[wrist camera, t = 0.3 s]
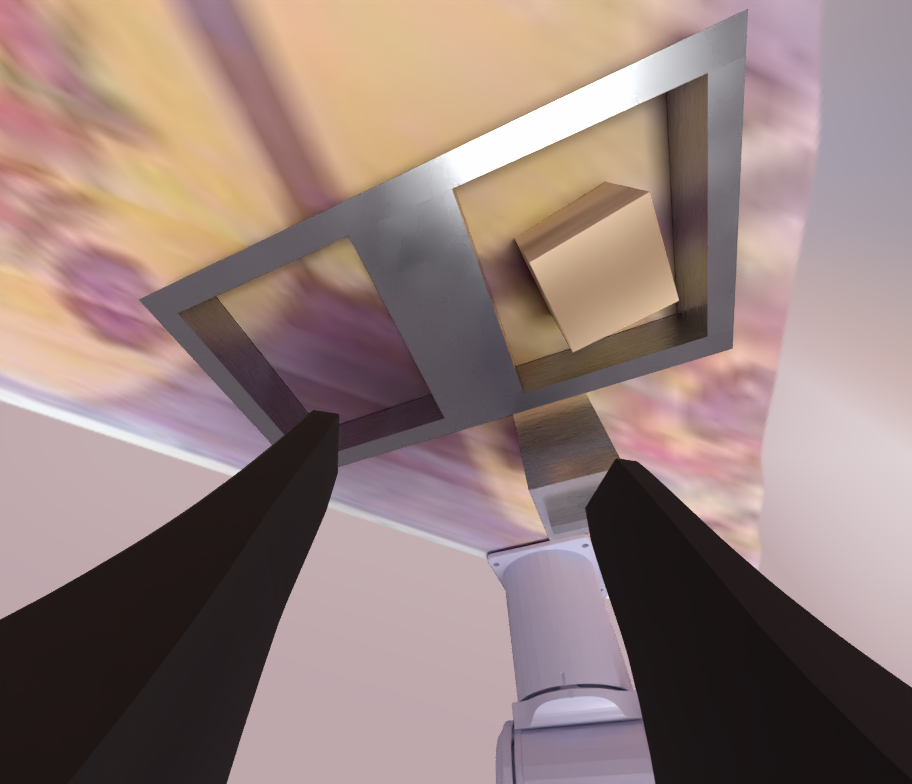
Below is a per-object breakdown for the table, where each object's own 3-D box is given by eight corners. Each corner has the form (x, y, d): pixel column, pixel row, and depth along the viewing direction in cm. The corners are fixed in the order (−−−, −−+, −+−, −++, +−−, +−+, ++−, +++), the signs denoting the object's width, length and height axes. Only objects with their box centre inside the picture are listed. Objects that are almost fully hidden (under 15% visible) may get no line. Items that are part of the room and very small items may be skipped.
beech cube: (633, 269, 16) (679, 300, 13) (550, 313, 17) (572, 352, 14) (604, 181, 14) (649, 192, 11) (513, 237, 15) (529, 262, 12)
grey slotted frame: (699, 324, 17) (732, 348, 15) (317, 446, 22) (302, 477, 20) (696, 33, 12) (747, 8, 10) (179, 280, 16) (139, 299, 14)
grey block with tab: (593, 437, 22) (641, 538, 16) (529, 454, 22) (553, 556, 17) (581, 385, 20) (632, 481, 14) (511, 407, 20) (532, 505, 15)
